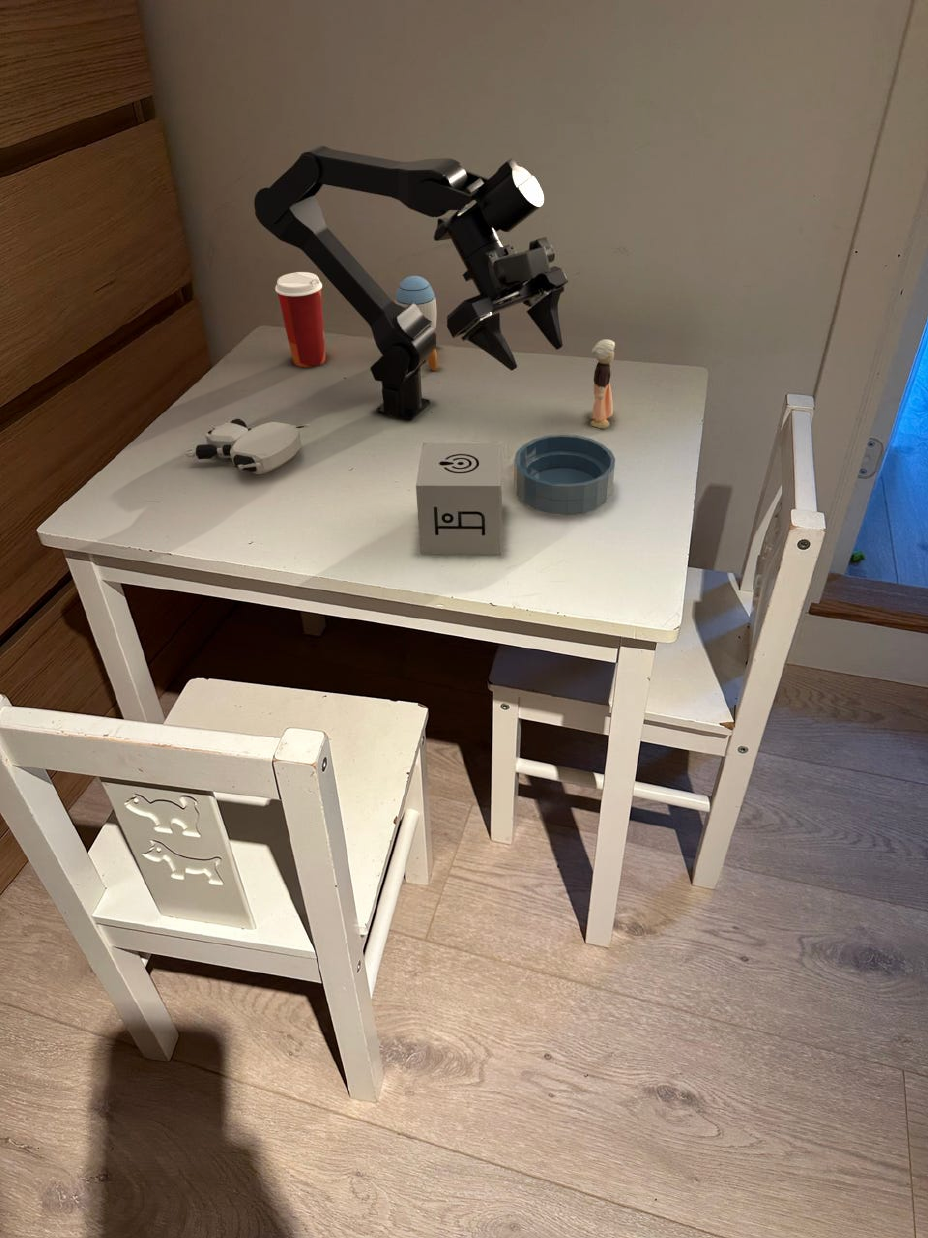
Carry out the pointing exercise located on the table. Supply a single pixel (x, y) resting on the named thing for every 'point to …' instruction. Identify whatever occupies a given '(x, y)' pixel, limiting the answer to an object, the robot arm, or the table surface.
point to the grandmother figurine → (602, 384)
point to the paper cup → (303, 317)
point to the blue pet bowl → (563, 474)
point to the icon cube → (460, 498)
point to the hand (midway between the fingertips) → (537, 358)
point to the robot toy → (251, 445)
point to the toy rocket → (419, 303)
